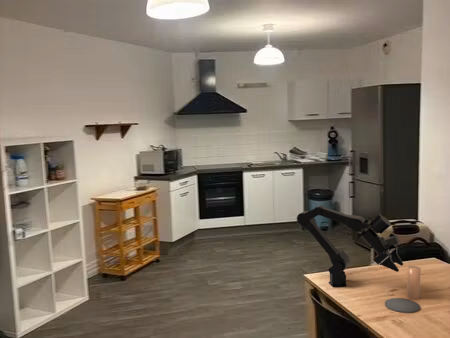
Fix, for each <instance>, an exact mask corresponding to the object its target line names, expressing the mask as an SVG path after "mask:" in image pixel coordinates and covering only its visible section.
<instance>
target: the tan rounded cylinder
mask: <svg viewBox="0 0 450 338" xmlns="http://www.w3.org/2000/svg"><path fill="white" fill-rule="evenodd" d="M406 270H407V271H406V273H407V274H406V276H407V277H406V297H407V299H410V300H419V299H421V275H422V274H421V273H422V272H421V271H422V268H421V267H419V266H415V265H414V266H413V265H411V266H410V265H409V266H407V268H406Z"/></svg>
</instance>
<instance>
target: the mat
mask: <svg viewBox="0 0 450 338" xmlns="http://www.w3.org/2000/svg"><path fill="white" fill-rule="evenodd" d="M384 305H385V307H386V308H387V309H388V310H390V311H393V312H396V313H403V314H413V313H417V312H419V311H420V307H421V306H420V304H419V303H418V302H416V301H414V300H413V299H410V298H402V297H401V298H400V297H393V298H389V299H386V300H385V301H384Z"/></svg>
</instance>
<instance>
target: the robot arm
mask: <svg viewBox="0 0 450 338" xmlns="http://www.w3.org/2000/svg"><path fill="white" fill-rule="evenodd" d="M318 216H321V217H323V218H326V219H329V220H332V221H335V222H338V223H341V224H343V225H345V226H346V228H348V229H351V230H352V231H354V232H357V233H356V234H357V236H356V239H357V240H359V239H361V238H362V239H363V240H364V241H365V242H366V243H367V244H368V245H369V248H370V249H371V250H374V252H375V253H376V256H375V257H374V262H375V263H376V264H377V265H379V266H383V267H386V268H387V269H390V270H392V271H394V272H397V273H398V272H399V271H400V270H399V267H398V266H397V265H400V266H402V267H403V265H404V262H403V260H402V259H401V257H400V256H399V254H398V244H399V243H400V239H399V236H398V235H397V234H395V233H394V232H392V233H389V236H388V237H386V238H385V237H384V236H380V235H378V234H383V233H384V232H385V231H386V230H387V229H389V228H390V227H391V226H392V224H391V222H390V220H389V219H388V218H387V217H385V216H383V215H382V214H381V213H379V214H377V215H376V216H375V218H374V219H373V220H370V219H367V218H365V217H364V216H361V215H356V214H355V215H354V214H346V213H343V212H340V211H337V210H334V209H332V208H328V207H325V206H324V205H318V206H316V207H315V208H312V209H311V210H304V211H302V212H300V213H299V214H298V215H297V216H296V222H297V224H298V225H300V226H301V228H304V229H305V230H306V231H308V232H309V233H310V235H312V236H313V238H314V239H315V240H316V241H317V243H318V244H319V245H320V246H321V248H322V249H323V251H325V253H326V254H327V255H328V256H329V260H330V263H331V264H332V265H331V266H330V267H329V268H328V273H329V281H328V282H327V283H328V284H329V285H331V287H333V288H341V287H347V286H348V285H347V275H346V272H345V270H346V268H348V267H349V265H350V258H349V255H347V253H346V252H345V250H344V249H341V250H339V249H337V248H336V246H334V244H333V243H332V242H331V241H330V239H329V238H328V237H327V236H326V234H325V233H324V232H323V230H321V228H320V227H319V225H318V223H317V221H316V219H315V217H318ZM361 230H362V231H361ZM360 231H361V232H360ZM395 263H396V264H397V265H396V264H395Z"/></svg>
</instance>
